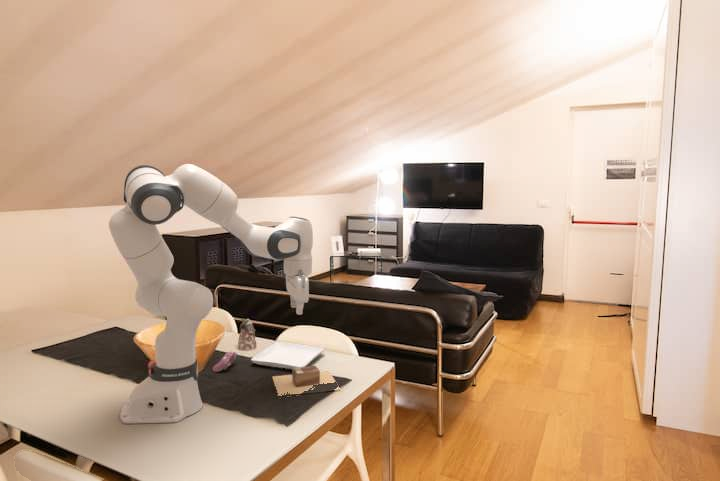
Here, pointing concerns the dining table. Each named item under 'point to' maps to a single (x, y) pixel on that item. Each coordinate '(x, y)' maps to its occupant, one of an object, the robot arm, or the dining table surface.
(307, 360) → the salad plate
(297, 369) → the walnut card box
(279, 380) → the cork mat
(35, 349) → the dining table surface
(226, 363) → the pink oblong lump
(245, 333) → the figurine
